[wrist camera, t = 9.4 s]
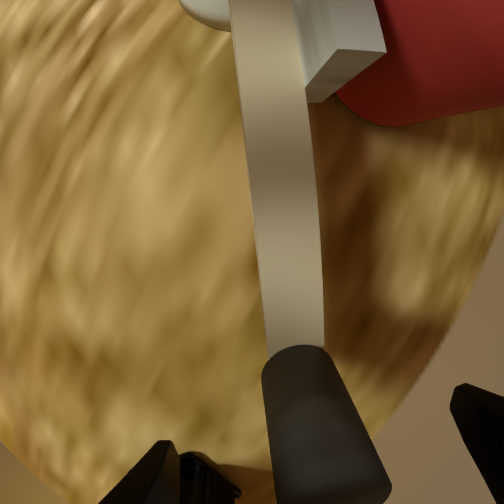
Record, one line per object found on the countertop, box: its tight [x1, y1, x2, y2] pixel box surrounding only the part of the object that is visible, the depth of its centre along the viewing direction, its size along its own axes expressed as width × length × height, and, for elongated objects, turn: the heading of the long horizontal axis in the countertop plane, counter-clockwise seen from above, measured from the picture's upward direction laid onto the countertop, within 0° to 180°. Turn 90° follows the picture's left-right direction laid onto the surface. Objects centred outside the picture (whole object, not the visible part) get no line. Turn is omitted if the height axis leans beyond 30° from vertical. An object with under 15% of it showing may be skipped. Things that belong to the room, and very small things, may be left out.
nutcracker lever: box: [228, 0, 392, 504], centre depth 8 cm, size 22×4×9 cm, turn 6°
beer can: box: [335, 0, 504, 127], centre depth 8 cm, size 7×7×12 cm
